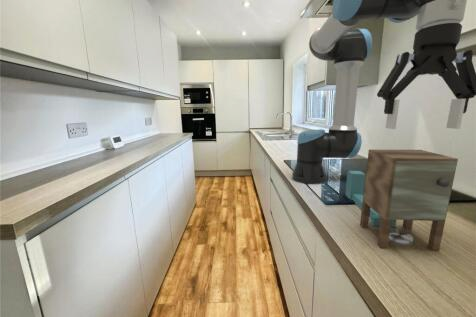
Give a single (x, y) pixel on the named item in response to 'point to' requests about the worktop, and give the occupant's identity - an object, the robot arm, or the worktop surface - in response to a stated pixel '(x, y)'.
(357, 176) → the teal stepped block
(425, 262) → the worktop surface
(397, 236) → the silver flat disc
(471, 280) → the worktop surface
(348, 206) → the worktop surface
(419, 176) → the cabinet
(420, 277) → the worktop surface
